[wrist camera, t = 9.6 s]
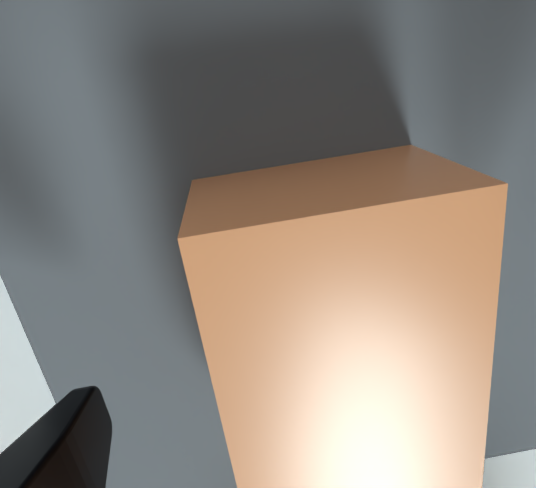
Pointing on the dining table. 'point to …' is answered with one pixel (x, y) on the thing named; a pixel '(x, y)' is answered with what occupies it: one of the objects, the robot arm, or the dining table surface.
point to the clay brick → (349, 317)
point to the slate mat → (227, 162)
